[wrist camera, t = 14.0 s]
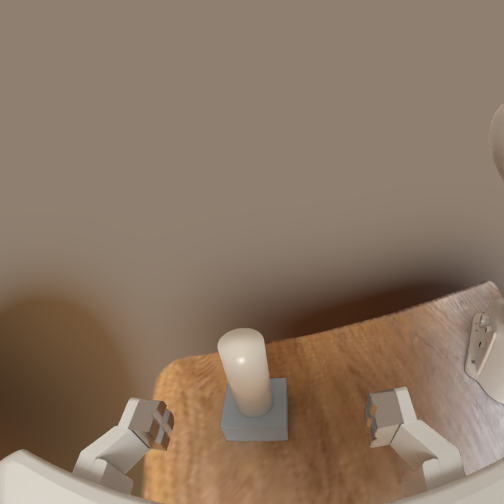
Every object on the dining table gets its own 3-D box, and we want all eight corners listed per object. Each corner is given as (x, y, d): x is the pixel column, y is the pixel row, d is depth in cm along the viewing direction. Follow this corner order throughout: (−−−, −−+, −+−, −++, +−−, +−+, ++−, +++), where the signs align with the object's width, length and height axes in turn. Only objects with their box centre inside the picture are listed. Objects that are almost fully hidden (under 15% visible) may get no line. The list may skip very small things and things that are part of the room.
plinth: (233, 395, 39) (228, 379, 38) (287, 394, 38) (286, 377, 37) (226, 440, 32) (220, 426, 31) (287, 440, 31) (286, 426, 30)
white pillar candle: (247, 383, 37) (233, 323, 32) (279, 394, 34) (271, 334, 29) (229, 409, 33) (208, 351, 28) (262, 422, 31) (249, 365, 26)
